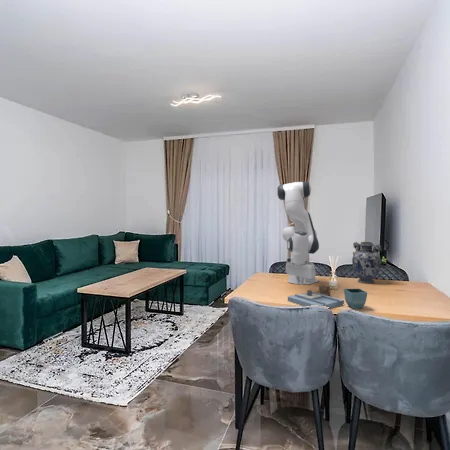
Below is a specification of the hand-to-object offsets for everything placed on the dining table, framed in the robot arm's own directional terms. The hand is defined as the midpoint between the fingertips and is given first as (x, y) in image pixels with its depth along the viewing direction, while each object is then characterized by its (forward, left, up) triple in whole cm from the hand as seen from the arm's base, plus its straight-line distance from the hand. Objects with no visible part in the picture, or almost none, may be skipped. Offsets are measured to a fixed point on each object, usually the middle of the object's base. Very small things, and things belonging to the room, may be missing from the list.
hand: (299, 284), depth 187 cm
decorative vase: (-71, -4, -9) cm, 72 cm away
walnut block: (-16, +5, -8) cm, 19 cm away
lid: (-1, +7, -6) cm, 9 cm away
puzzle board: (-1, +11, -8) cm, 14 cm away
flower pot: (-12, +28, -9) cm, 31 cm away
